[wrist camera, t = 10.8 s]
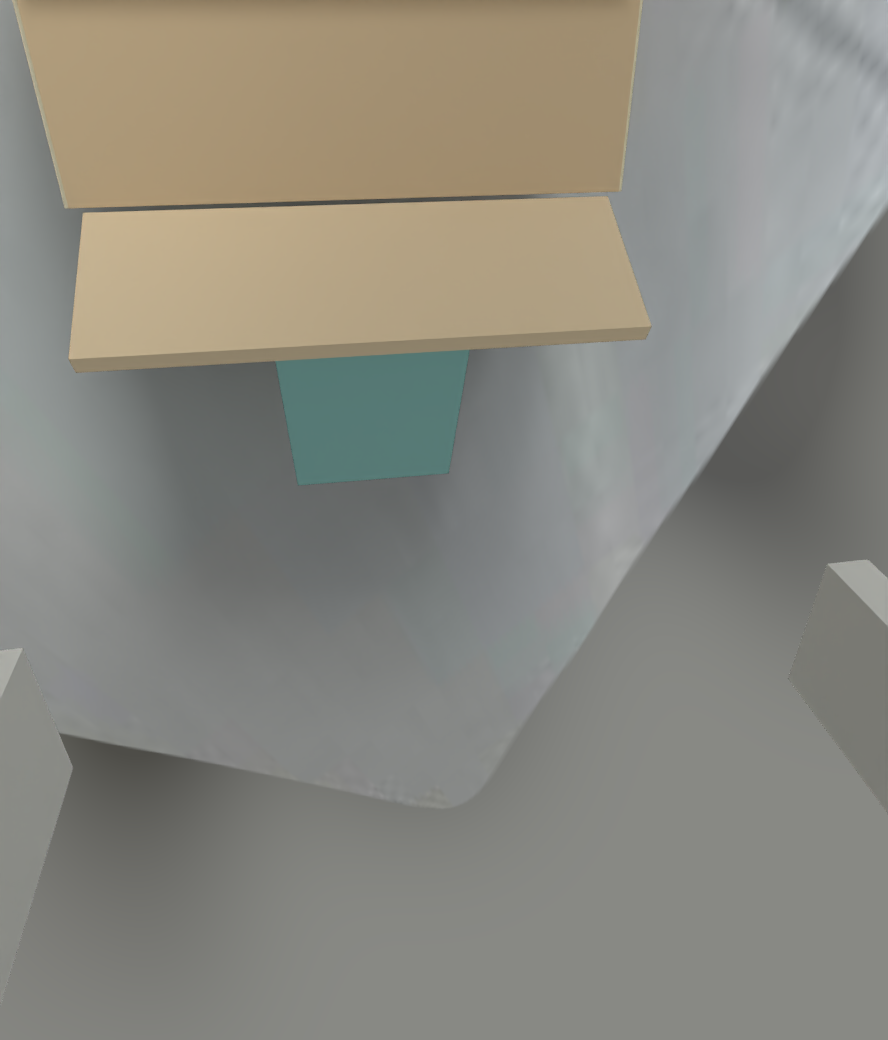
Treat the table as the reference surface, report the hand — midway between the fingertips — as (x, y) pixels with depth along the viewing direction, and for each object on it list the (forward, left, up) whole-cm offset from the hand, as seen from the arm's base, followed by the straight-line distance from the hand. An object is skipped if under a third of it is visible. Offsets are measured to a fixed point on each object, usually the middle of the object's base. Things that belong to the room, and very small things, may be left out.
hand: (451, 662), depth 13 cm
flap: (-3, 0, -15) cm, 15 cm away
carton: (-11, 0, -26) cm, 28 cm away
